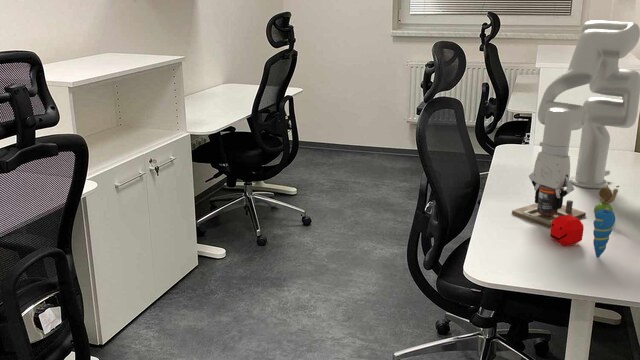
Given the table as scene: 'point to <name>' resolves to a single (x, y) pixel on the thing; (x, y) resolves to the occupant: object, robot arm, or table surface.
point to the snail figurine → (606, 198)
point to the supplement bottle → (546, 201)
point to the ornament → (602, 229)
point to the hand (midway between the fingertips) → (547, 205)
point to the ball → (566, 230)
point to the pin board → (534, 216)
